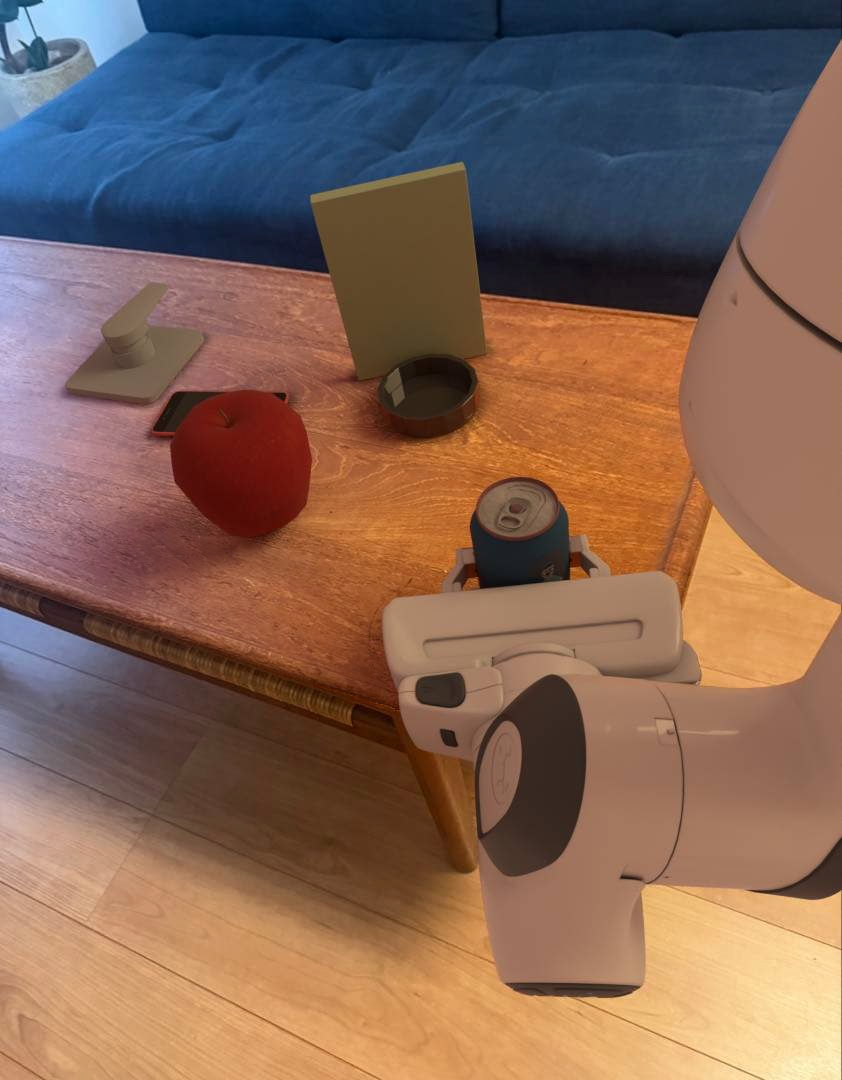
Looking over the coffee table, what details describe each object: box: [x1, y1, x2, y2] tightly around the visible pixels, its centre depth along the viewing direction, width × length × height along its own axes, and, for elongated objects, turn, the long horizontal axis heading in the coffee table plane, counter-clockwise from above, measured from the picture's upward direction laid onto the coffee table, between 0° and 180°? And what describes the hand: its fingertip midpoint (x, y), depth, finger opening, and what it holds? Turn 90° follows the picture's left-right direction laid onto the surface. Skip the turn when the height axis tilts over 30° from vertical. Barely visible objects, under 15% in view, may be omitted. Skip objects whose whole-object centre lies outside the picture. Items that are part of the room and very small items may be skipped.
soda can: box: [469, 476, 571, 589], centre depth 61 cm, size 7×7×12 cm
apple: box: [169, 389, 313, 538], centre depth 71 cm, size 12×12×13 cm
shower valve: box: [64, 282, 205, 405], centre depth 95 cm, size 12×6×15 cm
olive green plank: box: [309, 161, 488, 382], centre depth 80 cm, size 14×2×20 cm, turn 98°
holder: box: [376, 354, 481, 439], centre depth 82 cm, size 10×10×2 cm
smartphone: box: [150, 390, 290, 437], centre depth 87 cm, size 7×1×14 cm
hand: (520, 546), depth 61 cm, fingers closed on soda can, 7 cm apart
